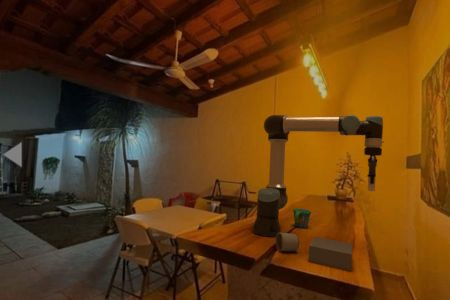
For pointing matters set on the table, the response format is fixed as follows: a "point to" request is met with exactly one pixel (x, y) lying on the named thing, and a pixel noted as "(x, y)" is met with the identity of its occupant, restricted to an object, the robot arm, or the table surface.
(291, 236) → the ceramic mug
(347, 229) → the table surface
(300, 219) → the snack cup
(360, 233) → the table surface
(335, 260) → the slate block
